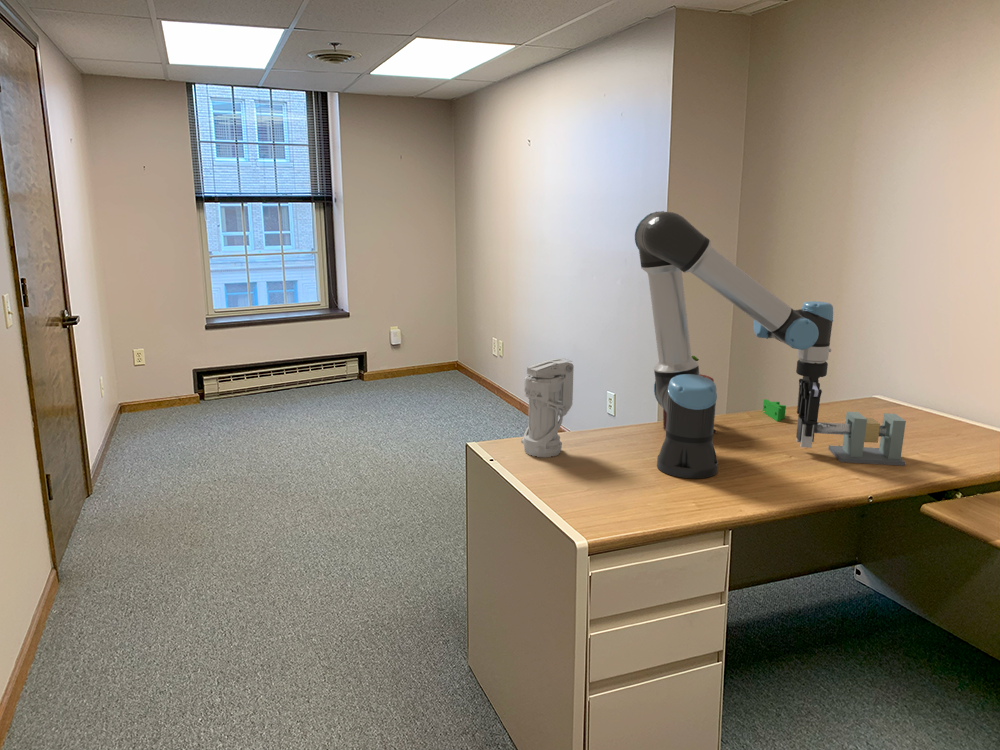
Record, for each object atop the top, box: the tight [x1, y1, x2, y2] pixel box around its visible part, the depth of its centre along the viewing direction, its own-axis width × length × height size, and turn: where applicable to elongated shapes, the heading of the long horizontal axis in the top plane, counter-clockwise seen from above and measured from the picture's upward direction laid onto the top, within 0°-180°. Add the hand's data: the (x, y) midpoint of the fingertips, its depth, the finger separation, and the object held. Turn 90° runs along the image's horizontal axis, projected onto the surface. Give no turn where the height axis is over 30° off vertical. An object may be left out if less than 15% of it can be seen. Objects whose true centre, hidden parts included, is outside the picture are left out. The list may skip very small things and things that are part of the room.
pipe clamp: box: [762, 398, 787, 423], centre depth 233 cm, size 11×4×5 cm, turn 4°
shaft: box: [796, 415, 886, 443], centre depth 195 cm, size 22×4×6 cm, turn 81°
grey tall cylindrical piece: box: [520, 357, 574, 458], centre depth 195 cm, size 13×10×25 cm
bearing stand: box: [828, 411, 907, 466], centre depth 194 cm, size 16×11×12 cm
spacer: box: [864, 417, 881, 444], centre depth 194 cm, size 4×6×5 cm, turn 171°
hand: (803, 444), depth 197 cm, fingers closed on shaft, 4 cm apart
